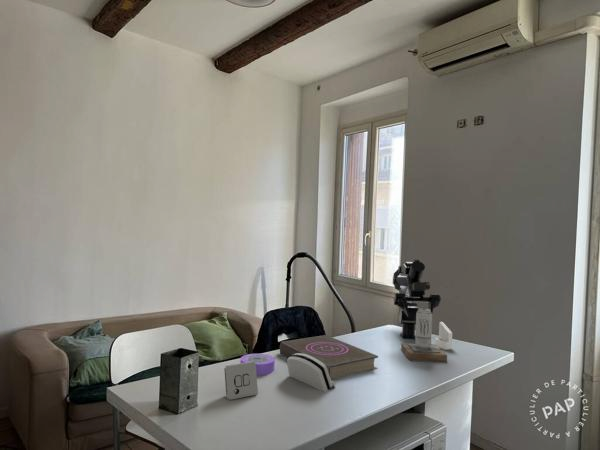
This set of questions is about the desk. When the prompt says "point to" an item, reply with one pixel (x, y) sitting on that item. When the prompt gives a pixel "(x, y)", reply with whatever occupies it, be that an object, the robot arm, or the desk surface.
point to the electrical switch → (241, 380)
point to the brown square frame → (423, 353)
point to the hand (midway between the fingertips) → (419, 316)
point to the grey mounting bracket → (309, 371)
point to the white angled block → (444, 337)
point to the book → (331, 354)
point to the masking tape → (260, 362)
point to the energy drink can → (423, 328)
